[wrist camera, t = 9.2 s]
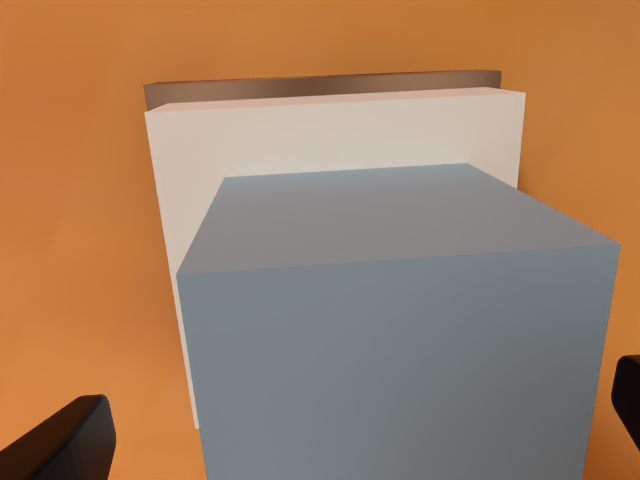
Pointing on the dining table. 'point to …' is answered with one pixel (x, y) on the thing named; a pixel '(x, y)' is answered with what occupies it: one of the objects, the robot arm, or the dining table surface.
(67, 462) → the robot arm
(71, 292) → the dining table surface
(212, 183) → the tower top
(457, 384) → the slate block
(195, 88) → the tower bottom
